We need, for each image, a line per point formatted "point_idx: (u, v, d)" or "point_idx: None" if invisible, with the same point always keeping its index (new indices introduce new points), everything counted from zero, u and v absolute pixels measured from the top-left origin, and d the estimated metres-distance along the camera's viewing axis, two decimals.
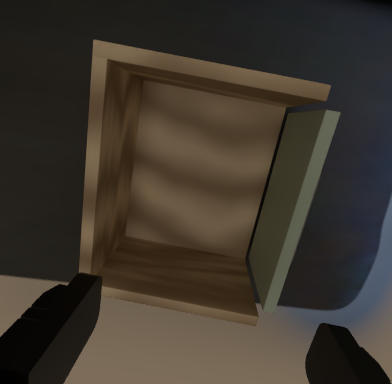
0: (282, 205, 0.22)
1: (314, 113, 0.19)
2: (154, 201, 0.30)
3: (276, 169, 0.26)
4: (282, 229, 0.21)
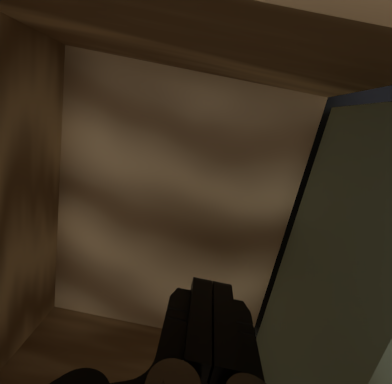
0: (334, 305, 0.10)
1: None
2: (98, 255, 0.18)
3: (308, 210, 0.14)
4: (340, 371, 0.09)
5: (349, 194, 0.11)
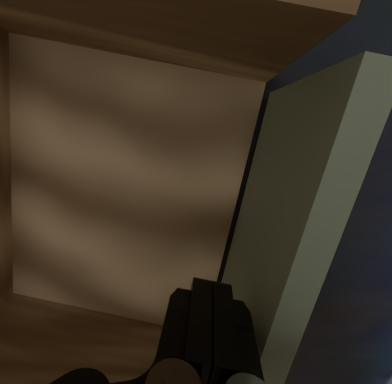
0: (252, 283, 0.10)
1: (324, 75, 0.07)
2: (52, 241, 0.18)
3: (248, 195, 0.14)
4: None
5: (270, 174, 0.11)
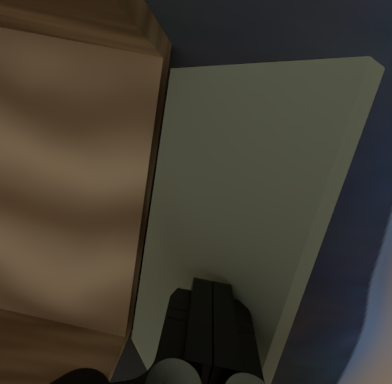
0: None
1: (294, 68, 0.07)
2: None
3: (167, 187, 0.13)
4: None
5: (212, 166, 0.10)
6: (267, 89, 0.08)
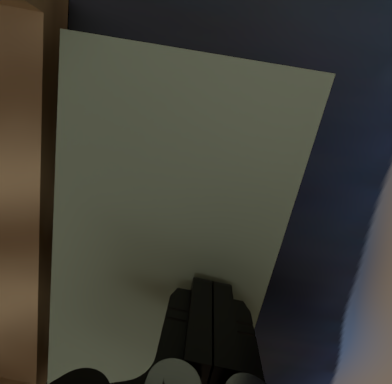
0: None
1: (268, 70, 0.08)
2: None
3: (86, 196, 0.10)
4: None
5: (168, 166, 0.09)
6: (238, 86, 0.08)
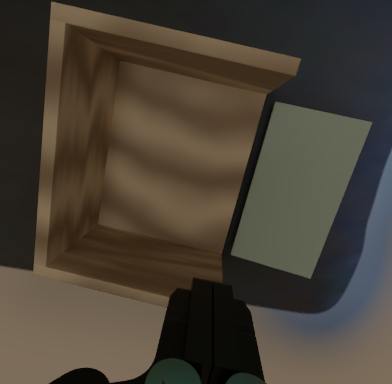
0: (312, 196, 0.26)
1: (350, 119, 0.24)
2: (129, 189, 0.29)
3: (272, 162, 0.26)
4: (323, 214, 0.26)
5: (309, 150, 0.25)
6: (339, 124, 0.24)
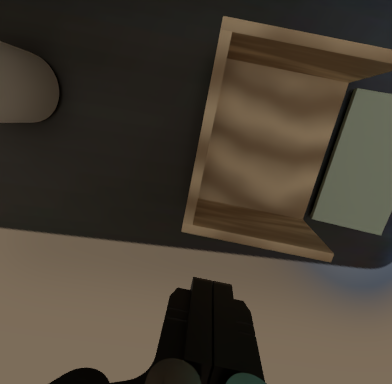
0: (385, 165, 0.32)
1: None
2: (226, 166, 0.34)
3: (352, 138, 0.32)
4: None
5: (384, 128, 0.31)
6: None
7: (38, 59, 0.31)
